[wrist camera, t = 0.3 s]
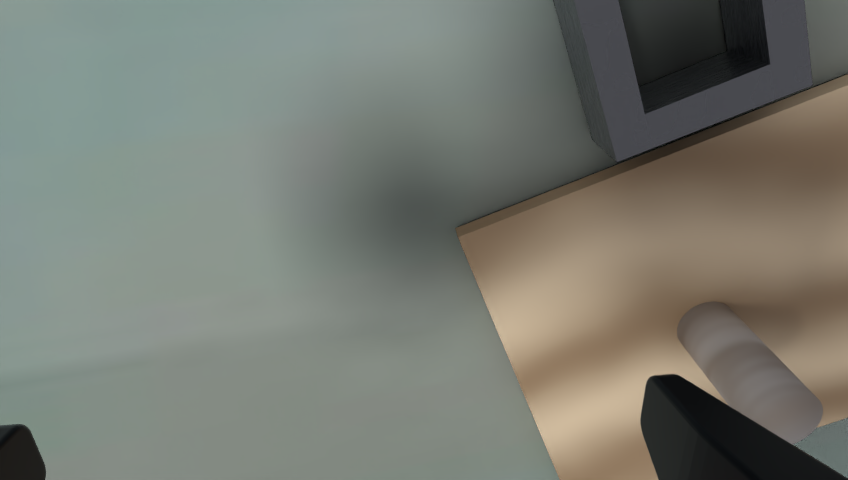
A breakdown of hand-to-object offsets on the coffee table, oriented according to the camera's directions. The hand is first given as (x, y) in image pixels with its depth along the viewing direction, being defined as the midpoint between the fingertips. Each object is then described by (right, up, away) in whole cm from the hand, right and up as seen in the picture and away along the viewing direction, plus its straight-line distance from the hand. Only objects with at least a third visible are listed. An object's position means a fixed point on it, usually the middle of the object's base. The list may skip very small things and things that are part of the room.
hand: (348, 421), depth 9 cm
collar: (+9, +10, +11) cm, 18 cm away
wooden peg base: (+13, -1, +17) cm, 21 cm away
